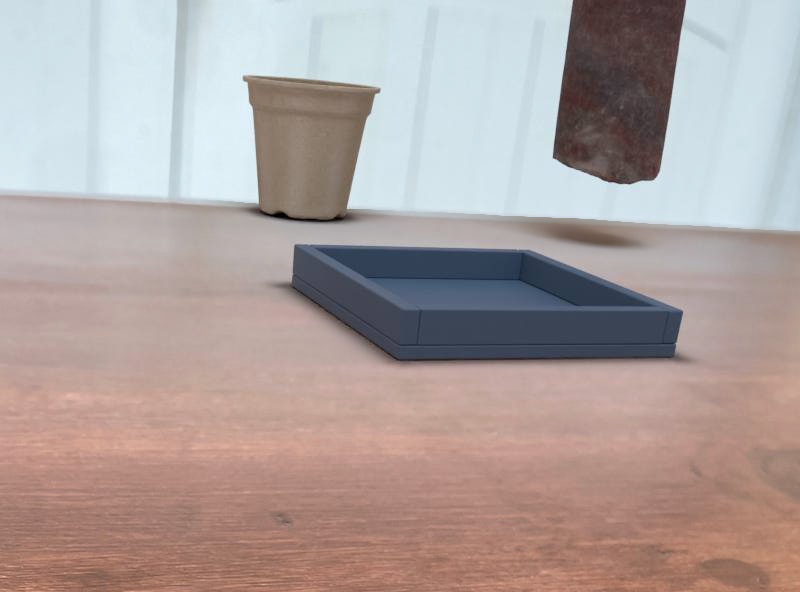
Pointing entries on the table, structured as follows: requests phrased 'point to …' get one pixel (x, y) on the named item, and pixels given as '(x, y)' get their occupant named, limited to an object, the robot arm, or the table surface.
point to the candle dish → (481, 304)
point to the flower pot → (307, 143)
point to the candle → (618, 87)
